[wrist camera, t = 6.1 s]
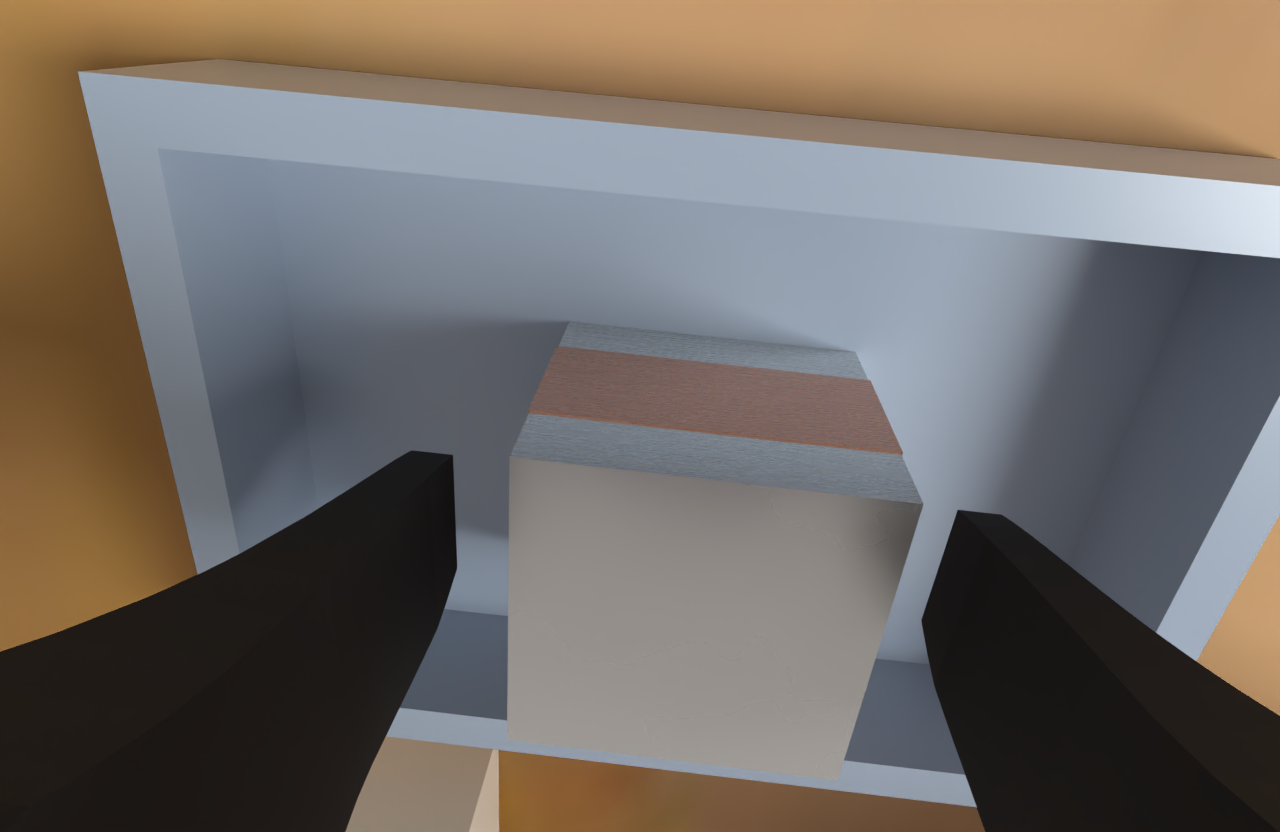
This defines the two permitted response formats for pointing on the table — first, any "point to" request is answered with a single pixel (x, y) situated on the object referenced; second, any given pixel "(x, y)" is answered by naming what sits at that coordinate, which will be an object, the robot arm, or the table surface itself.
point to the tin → (701, 549)
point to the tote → (698, 330)
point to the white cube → (429, 789)
